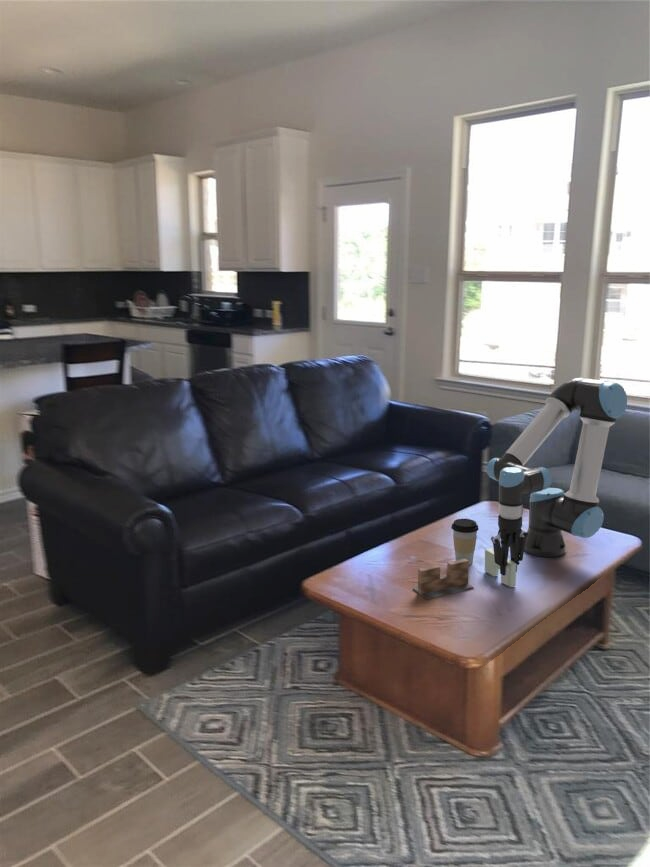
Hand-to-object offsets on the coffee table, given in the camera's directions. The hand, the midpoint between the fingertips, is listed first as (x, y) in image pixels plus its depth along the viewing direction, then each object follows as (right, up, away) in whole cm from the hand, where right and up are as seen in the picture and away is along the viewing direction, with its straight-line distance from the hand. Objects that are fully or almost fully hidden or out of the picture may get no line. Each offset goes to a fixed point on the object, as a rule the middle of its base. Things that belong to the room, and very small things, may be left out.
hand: (508, 582), depth 229 cm
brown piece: (-22, -2, -2) cm, 22 cm away
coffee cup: (-11, +3, +18) cm, 21 cm away
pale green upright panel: (-2, 0, +4) cm, 4 cm away
